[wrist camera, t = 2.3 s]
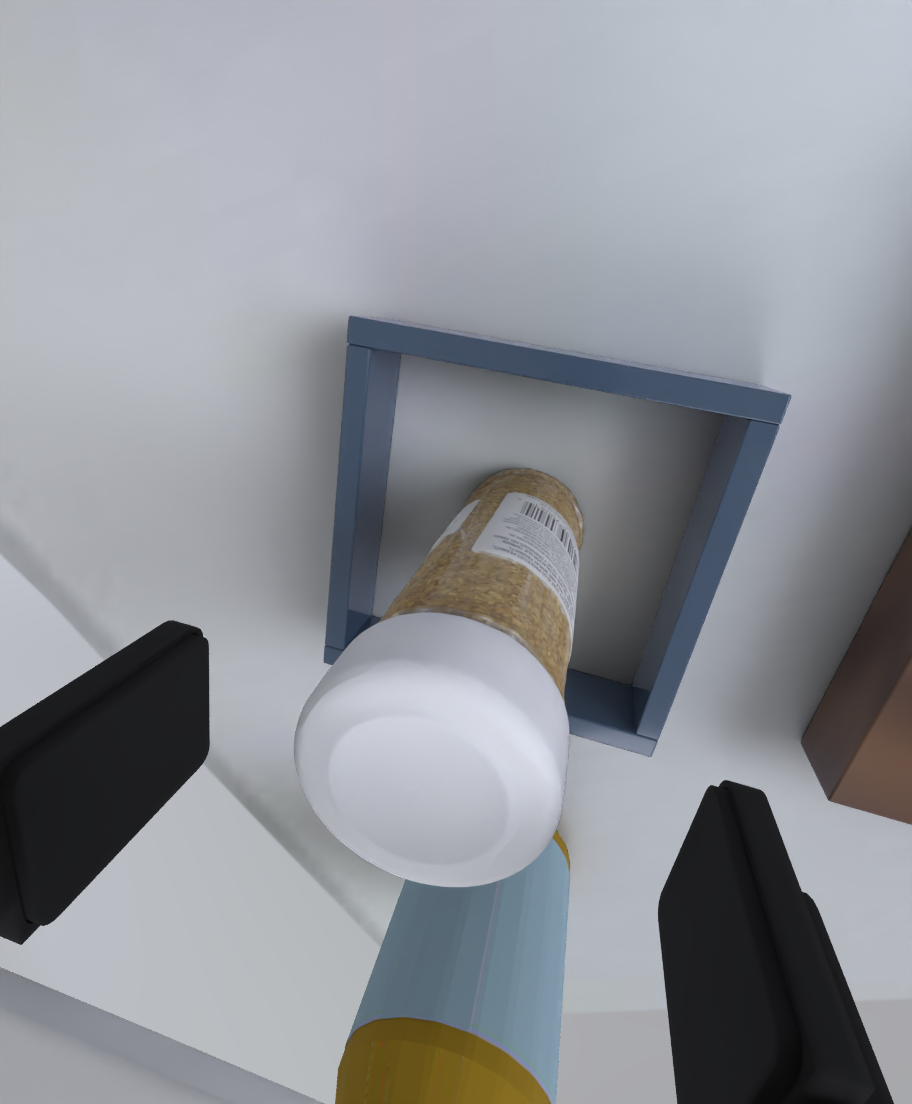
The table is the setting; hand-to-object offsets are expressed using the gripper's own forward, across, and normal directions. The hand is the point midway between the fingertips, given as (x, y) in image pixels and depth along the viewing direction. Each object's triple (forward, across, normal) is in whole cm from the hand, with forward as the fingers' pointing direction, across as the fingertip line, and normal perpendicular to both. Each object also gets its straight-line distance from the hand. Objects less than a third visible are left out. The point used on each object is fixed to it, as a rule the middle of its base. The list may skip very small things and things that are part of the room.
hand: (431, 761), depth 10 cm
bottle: (+13, -2, +15) cm, 20 cm away
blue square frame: (+12, 0, -1) cm, 12 cm away
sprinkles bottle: (+12, 0, -1) cm, 12 cm away
